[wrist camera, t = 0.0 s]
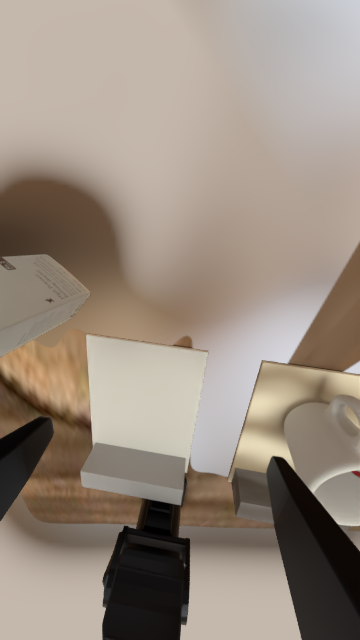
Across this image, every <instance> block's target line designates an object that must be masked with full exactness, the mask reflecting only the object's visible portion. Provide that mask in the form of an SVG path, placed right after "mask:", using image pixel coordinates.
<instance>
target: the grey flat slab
mask: <svg viewBox="0 0 360 640" xmlns="http://www.w3.org/2000/svg"><path fill="white" fill-rule="evenodd" d="M86 342H87V358H88V374H89V391H90V407H91V423H92V440H93V449H92V451H91V453H90V454H89V456H88V458H87V460H86V462H85V464H84V466H83V467H82V469H81V482H82V487H87V488H92V489H97V490H103V491H108V492H113V493H119V494H124V495H129V496H134V497H140V498H145V499H150V500H155V501H161V502H166V503H171V504H176V505H181V500H182V495H183V488H184V475H185V473H187V469H188V463H189V458H190V452H191V447H192V441H193V436H194V430H195V424H196V419H197V413H198V407H199V401H200V397H201V391H202V385H203V380H204V374H205V369H206V363H207V358H208V351H205V350H198V349H192V348H185V347H178V346H171V345H164V344H157V343H151V342H144V341H137V340H130V339H123V338H116V337H109V336H103V335H96V334H89V333H88V334H86Z"/></svg>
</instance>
